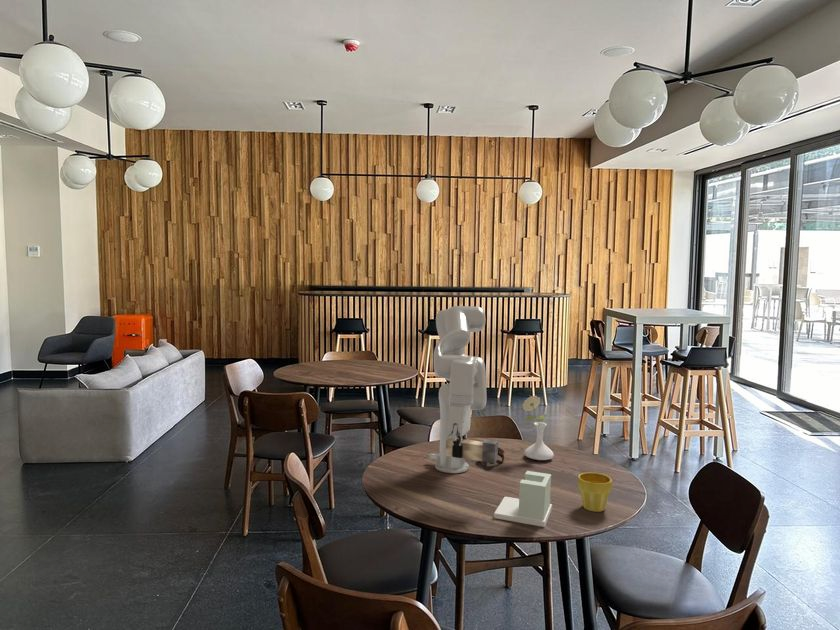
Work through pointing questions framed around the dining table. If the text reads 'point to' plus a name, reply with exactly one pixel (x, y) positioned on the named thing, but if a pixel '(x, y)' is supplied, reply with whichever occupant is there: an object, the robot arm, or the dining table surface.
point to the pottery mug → (500, 453)
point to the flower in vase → (538, 448)
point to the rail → (476, 450)
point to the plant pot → (594, 490)
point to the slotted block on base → (528, 501)
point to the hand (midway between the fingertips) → (459, 454)
